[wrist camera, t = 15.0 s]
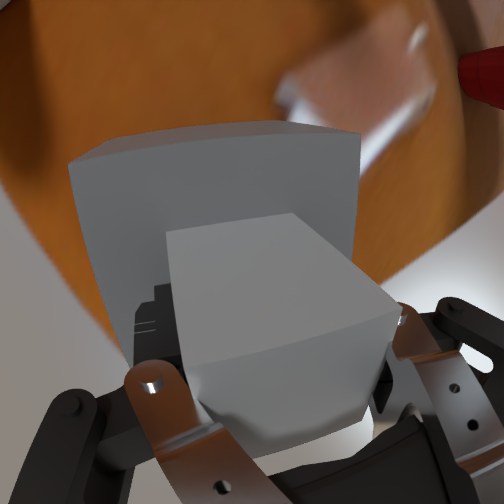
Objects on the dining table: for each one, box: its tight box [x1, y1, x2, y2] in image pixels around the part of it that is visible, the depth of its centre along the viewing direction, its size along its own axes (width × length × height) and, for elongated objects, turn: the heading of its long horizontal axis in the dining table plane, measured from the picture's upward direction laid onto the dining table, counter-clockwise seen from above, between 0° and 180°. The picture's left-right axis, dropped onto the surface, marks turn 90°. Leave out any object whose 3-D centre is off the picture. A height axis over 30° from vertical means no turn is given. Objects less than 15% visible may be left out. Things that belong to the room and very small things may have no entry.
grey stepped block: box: [68, 120, 403, 459], centre depth 13 cm, size 10×10×15 cm
